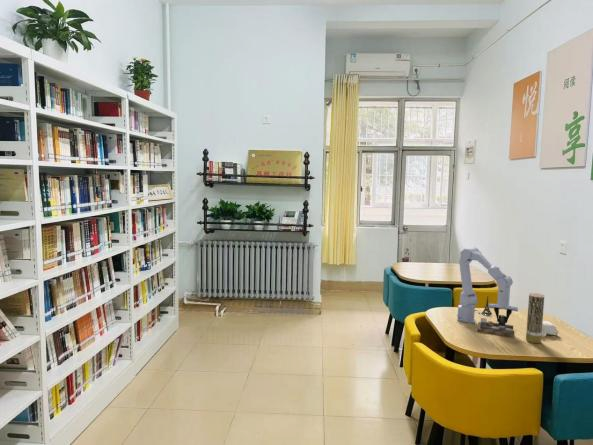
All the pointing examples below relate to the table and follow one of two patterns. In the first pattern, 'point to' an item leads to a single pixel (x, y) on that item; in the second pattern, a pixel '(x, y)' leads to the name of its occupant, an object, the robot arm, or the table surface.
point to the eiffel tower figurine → (486, 310)
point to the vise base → (494, 328)
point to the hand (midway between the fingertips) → (501, 321)
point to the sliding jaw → (502, 321)
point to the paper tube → (535, 317)
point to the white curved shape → (548, 329)
